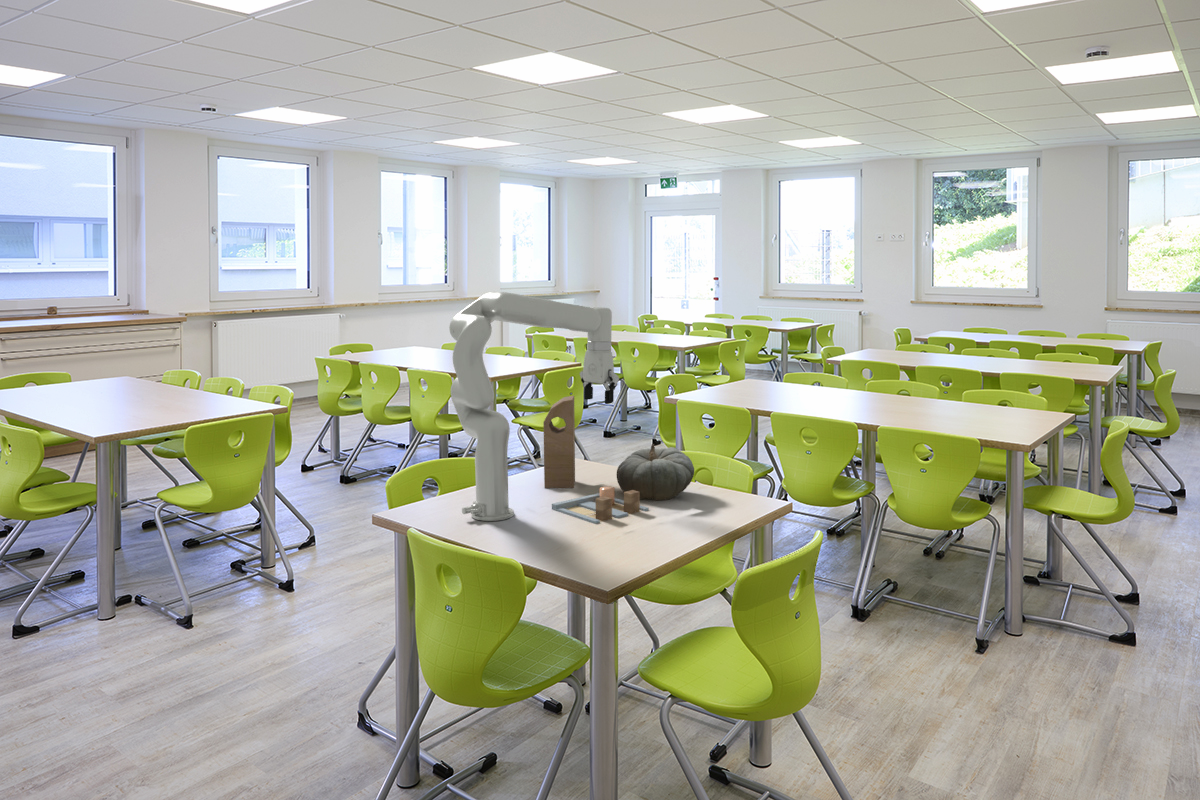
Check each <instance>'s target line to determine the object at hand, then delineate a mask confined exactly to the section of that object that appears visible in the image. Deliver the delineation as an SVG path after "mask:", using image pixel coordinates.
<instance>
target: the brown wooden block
mask: <svg viewBox="0 0 1200 800" xmlns="http://www.w3.org/2000/svg"><path fill="white" fill-rule="evenodd" d="M595 502H596V511H595V512H596V513H593V514H589V515H587V516H588V517H591V518H594V519H598V520H600V523H601V522H605V521H609V520H613V519H614V517H612V498H609V497H600V498H596V501H595Z"/></svg>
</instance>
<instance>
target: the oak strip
mask: <svg viewBox="0 0 1200 800" xmlns="http://www.w3.org/2000/svg"><path fill="white" fill-rule="evenodd" d="M623 500H624V505H622V504H618V503H615V505H613V506H612V508H613V509H617V510H620V511H623V512H626V513H628V516H630V515H632V514H636V513H639V512H642V510H640V505H641V503H640V500H641V499H640V492H638V491H634V490H631V491H626V492H623ZM594 503H596V501H595V502H594Z"/></svg>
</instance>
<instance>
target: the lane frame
mask: <svg viewBox="0 0 1200 800" xmlns="http://www.w3.org/2000/svg"><path fill="white" fill-rule="evenodd" d="M596 498H600V492H597V493H592V494H589V495H585V496H581V497H580V496H579V497H575V498H572V499H567V500H562V501H559V502H555V503H551V510H552V511H554V512H558V513H562V514H565V515H567V516H570V517H573V518H577V519H579V520H582V521H586V522H588V523H591V524H595V525H596V524H600V523H601V522H600V520H598V519H594V518H591V517H588V516H589V515H593V514H596V503H594V502H596ZM615 503H617V504H620V505H623V506H624V499H620V498H617V497H615ZM649 509H650V508H649V507H647V506H643V505H641V504H640V511H641V512H646V511H649ZM628 516H629V515H628V513H626V512H623V511H620V510H617V509H613V508H612V518H613V519H620V518H624V517H628Z"/></svg>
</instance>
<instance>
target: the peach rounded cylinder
mask: <svg viewBox="0 0 1200 800" xmlns="http://www.w3.org/2000/svg"><path fill="white" fill-rule="evenodd" d="M599 493H600V497H609V498H612V506H613V505H615V498H616V496H615V495H616V493H615V487H613V486H601V487H599Z"/></svg>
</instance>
